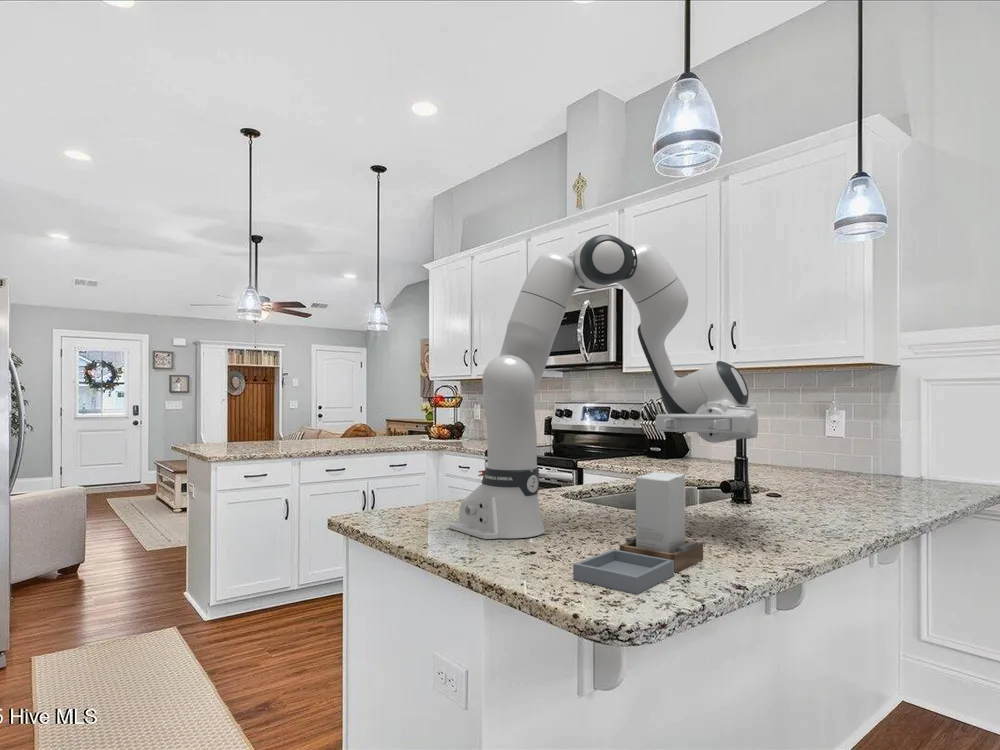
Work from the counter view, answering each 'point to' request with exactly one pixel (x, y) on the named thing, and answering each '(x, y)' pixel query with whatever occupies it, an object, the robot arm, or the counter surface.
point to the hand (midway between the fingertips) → (689, 424)
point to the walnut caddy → (682, 558)
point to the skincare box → (660, 511)
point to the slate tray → (624, 571)
